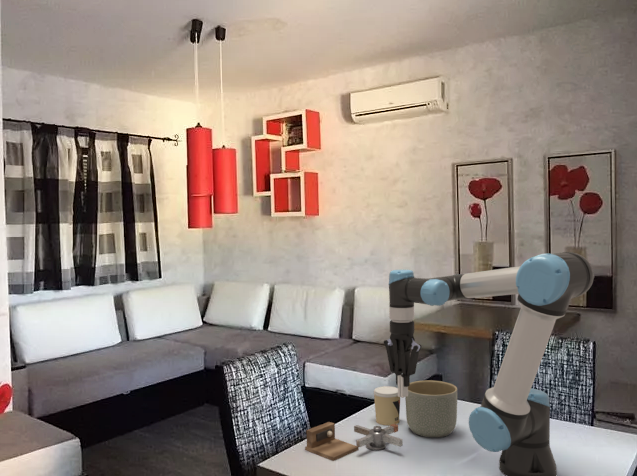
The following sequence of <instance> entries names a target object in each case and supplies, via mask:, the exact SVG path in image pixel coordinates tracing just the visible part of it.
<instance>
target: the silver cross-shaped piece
mask: <svg viewBox="0 0 637 476" xmlns="http://www.w3.org/2000/svg"><path fill="white" fill-rule="evenodd" d="M353 432H354V433H357V434H359V435H363V437H361V438H358V439H356V445H355V446H358V448H362V447H365V448H366V449H368V450H370V451H382V450H384V449H386V445H387V443H388V444H391V445H394V446H396V447H403V439H402V438H399V437H396V436H395V435H394V436H393V435H391V434H394V433H395V434H396V433H398V432H399V425H398V424H392V425H387V426H386V427H384V428H382V426H380V425H375V426H373V427H372V428H368V427H366V426H365V427H364V426H362V425H359V424H355V425H354V426H353Z"/></svg>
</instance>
